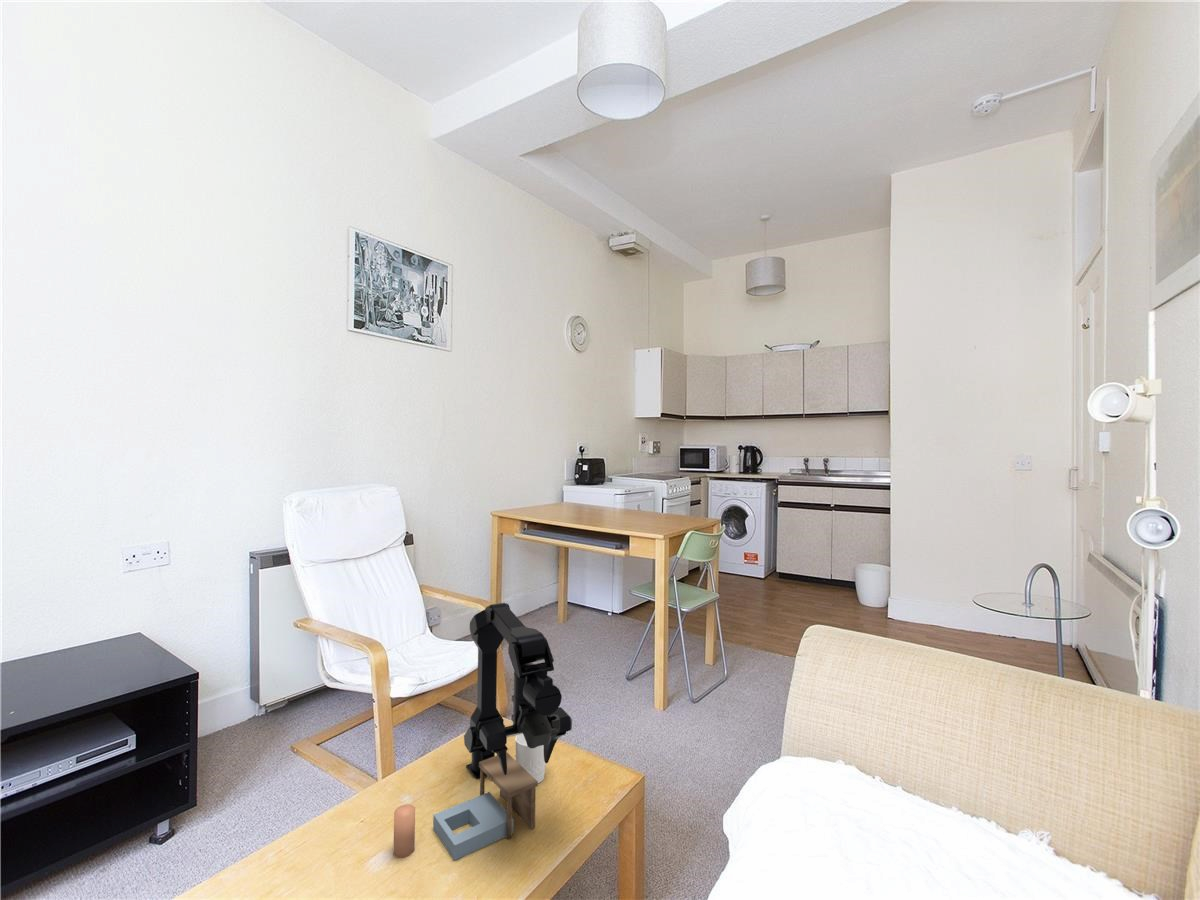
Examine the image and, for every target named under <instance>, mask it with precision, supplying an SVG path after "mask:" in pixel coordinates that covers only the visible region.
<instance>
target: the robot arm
mask: <svg viewBox="0 0 1200 900" xmlns="http://www.w3.org/2000/svg"><path fill="white" fill-rule="evenodd" d="M469 632H470V634H471V639H472V641H473V642H474V644H475V646H476V648H477V696H476V697H477V698H476V699H477V701H476V702H477V703H476V707H475V709H474V711H473V713H472V714H471V716H470V719H469V727H468V728H467V730H466V732H465V734H464V735H463V742H464V746H465V748H466V749H467V750H468V751H467V752H468V753H469V754H471V763H468V764H466V765H465V768H466V769H467V770H468V772H469V773H470V774H471V775H472V776H473V778H474V779H476V780H479V779H480V767H479V762H481V761H483V760H486V759H489V758H491V757H494V756H498V759H499V762H500V765H501V768H502V771H503V773H504V775H506V774H507V758H506V752H507V751H508V750H509V748H508V746H507V745H506V744H507V741H508V738H510V737H516V735H519V734H523V735H524V737H525V740H526V742H527V746H528V747H529V748H536V747H538V746H541V745H544V761H545V763H546V764H549V761H550V758H551V756H552V754H553V752H554V751H553V750H554V748H555V745H556V743H557V742H558V739H560V738H561V737H563V736H565V735H566V734H567V732H569V731H572V729H573V720H572V717H571V716H570V714H568V712H567V711H565V710H564V709H563V707H560V705H561V703H562V700H563V699H562V693H561V690H560V689H559V688H558V687H557V686H556V685H555V683H554V679H553V678H552V677H551V676H549V675H548V672H552V671H554V670H555V667H554V661H555V660H554V658H553V657H554V656H553V654H552V651H551V647H550V645H549V642H548V640H547V638H546V636H545V635H544V634H543V633H542V632H541V631H539V630H538V629H536V628H532V627H527V626H526V625H524V623H523V621H521V620H520V619H519V618H518V616H517V615H516V614H515V613H514V612H513V611H512V610H511V606H510V605H509V603H506V602H500V603H493V604H492V603H491V604H489V605H487V606H486V607H485V608H484V609H483V610H481V611H479V612H477V613H475V615H473V617H472V618H471V619H470V622H469ZM504 640H505V641H506V642H507V643H508V647H507V648H508V655H509V659H510V662H511V665H512V667H513V695H511V701H512V703H513V710H512V711H513V712H512V713H513V714H511V716H510V717H511V721H512V725H508V726H506V725H505V721H504V718H503V716H502V714H501V713H500V712H499V711H498V709H497V693H498V692H497V691H498V689H497V685H498V684H497V683H498V681H497V680H498V650H499V648H500V647H501V645H502V643H503V641H504ZM541 661H544V662H541ZM536 662H539V663H536ZM507 753H508V752H507ZM495 754H496V755H495ZM485 777H488V776H487V775H486V774H485Z"/></svg>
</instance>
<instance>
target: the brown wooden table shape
mask: <svg viewBox="0 0 1200 900" xmlns="http://www.w3.org/2000/svg"><path fill="white" fill-rule="evenodd" d="M506 758H507V774H506V775H504V773H503V771H502V768H501V765H500V762H499V759H498V756H497V755H495V756H494V757H491V758H489V759H486V760H483V761H481V762H479V767H480V778H479V779H480V780H479V787H480V788H479V796H480V795H483V794H485V787H486V786H485V781H486V779H485V778H486V777H488V778H489V779H490V780H491V781H492V783H494V784H495V786H496V787H497V788H498V789H499V796H500V798H502V800H503V801H504V802H505V803H506V811H507V832H506V838H505V839H507V840H510V839H512V834H511V823H512V818H513V817H512V816H513V815H512V814H513V811H514V813H515V814H516V815H517V817H519V818H520V820H522V822H523V823H524V824H525V825H526V827H528V829H529V830H533V829H535V828H536V795H537V794H536V791H537V789H536V787H538V785H539V783H538V781H537V780H536V779H535V778H534V777H533V776H532V775H530V774H529V773H528V772H527V771H526V770H525V769H524V768H523V767H522V766H521V765H520V764H519V763H518V762H517V761H516V759H515V758H513V757H512V756H511V755H510V754H509V753H508V752H506ZM485 774H486V775H487V776H485Z"/></svg>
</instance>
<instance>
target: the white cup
mask: <svg viewBox="0 0 1200 900" xmlns="http://www.w3.org/2000/svg"><path fill="white" fill-rule="evenodd" d="M514 737H515V738H514V739H515V760H516V761H517V762H518V763H519V764H520V765H521V766H522V767H523V768H524V769H525V770H526V771H527V772H528V773H529V774H530V775H532V776H533V777H534V778H535V779H536V780H537V781H538V784H541V783H542V781H543V780H544V779H545V775H546V764H547V763H545V761H544V745H541V746H538V747H536V748H529V747H528V746H527V742H526V740H525V737H524V735H523V734H519V735H515V736H514Z"/></svg>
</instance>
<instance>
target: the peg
mask: <svg viewBox="0 0 1200 900" xmlns="http://www.w3.org/2000/svg"><path fill="white" fill-rule="evenodd" d="M415 834H416V807H415V806H414V804H413V805H412V804H402V805H400V806H398V807H397V808H396V809H395V810H394V812H393V849H392V850H393V852H392V853H393V856H394V857H395V858H397V859H404V858H407V857H410V856H412V854H413V853H414V851H415V844H416V843H415V841H416V840H415V839H416V835H415Z"/></svg>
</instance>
